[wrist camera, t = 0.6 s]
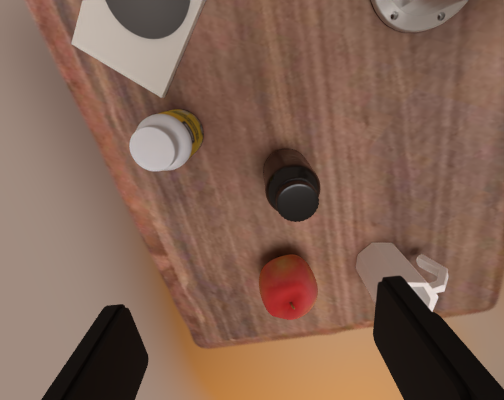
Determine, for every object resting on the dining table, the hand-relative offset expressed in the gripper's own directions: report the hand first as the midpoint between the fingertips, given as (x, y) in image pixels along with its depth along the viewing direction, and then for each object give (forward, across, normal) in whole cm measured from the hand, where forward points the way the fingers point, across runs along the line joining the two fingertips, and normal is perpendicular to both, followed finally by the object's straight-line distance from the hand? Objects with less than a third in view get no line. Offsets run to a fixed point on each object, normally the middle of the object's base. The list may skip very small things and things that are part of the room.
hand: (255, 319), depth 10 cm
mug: (+31, -22, +22) cm, 44 cm away
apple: (+31, -4, +21) cm, 38 cm away
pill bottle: (+31, +9, -4) cm, 32 cm away
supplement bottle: (+31, -5, +4) cm, 31 cm away
